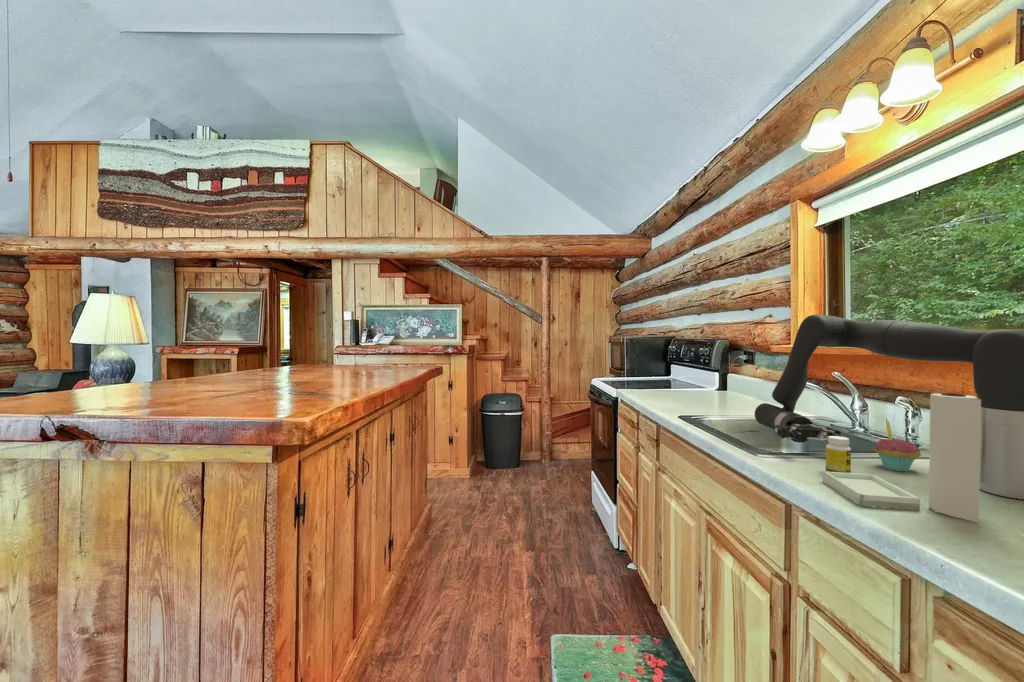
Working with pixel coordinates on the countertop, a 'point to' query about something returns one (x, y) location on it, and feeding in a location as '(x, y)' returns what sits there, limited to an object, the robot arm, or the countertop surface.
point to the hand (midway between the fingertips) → (818, 438)
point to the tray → (871, 490)
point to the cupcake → (896, 452)
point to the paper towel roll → (955, 455)
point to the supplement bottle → (838, 455)
